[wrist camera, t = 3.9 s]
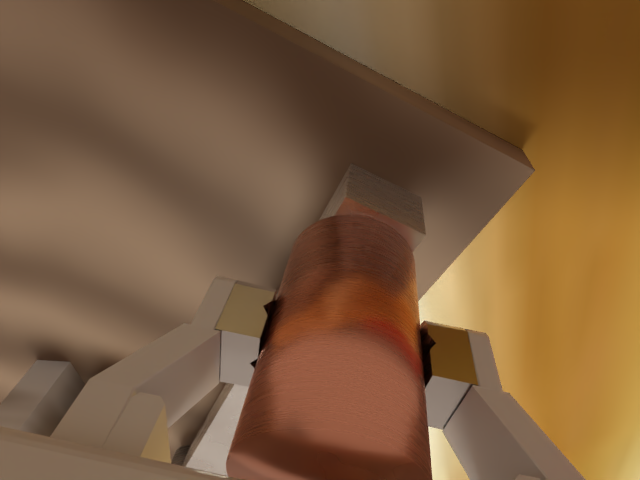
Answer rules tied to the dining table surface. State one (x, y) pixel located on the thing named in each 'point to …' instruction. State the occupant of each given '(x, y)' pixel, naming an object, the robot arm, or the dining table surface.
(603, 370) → the dining table surface
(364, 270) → the lever
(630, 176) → the dining table surface
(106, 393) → the robot arm
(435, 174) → the nutcracker base
